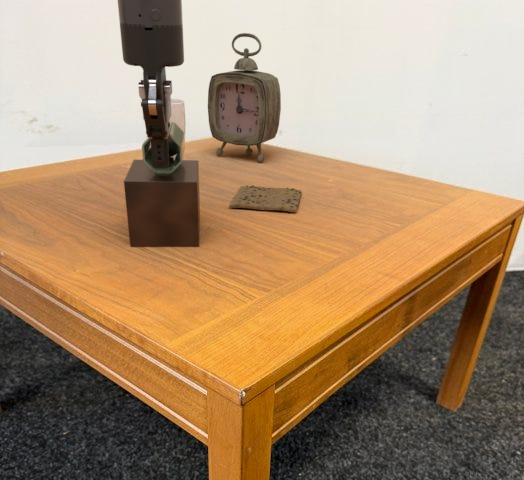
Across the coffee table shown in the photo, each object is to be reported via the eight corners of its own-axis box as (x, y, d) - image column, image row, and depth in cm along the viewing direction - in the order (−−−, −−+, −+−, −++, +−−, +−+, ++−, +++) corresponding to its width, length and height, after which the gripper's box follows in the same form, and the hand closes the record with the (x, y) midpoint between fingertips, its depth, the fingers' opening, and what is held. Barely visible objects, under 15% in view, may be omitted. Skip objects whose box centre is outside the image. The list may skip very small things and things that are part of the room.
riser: (130, 246, 80) (123, 181, 75) (138, 218, 90) (133, 159, 85) (199, 246, 81) (197, 181, 76) (200, 219, 91) (198, 160, 86)
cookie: (239, 188, 106) (239, 183, 105) (302, 193, 105) (302, 188, 104) (227, 207, 96) (227, 202, 95) (296, 213, 95) (297, 207, 94)
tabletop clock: (208, 156, 127) (206, 31, 114) (227, 149, 134) (227, 30, 120) (264, 165, 122) (269, 35, 108) (281, 157, 129) (287, 34, 115)
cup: (182, 173, 79) (181, 133, 76) (144, 173, 78) (140, 132, 76) (185, 158, 86) (183, 121, 84) (150, 157, 86) (147, 120, 83)
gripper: (126, 18, 72) (138, 155, 81) (111, 21, 60) (127, 180, 70) (184, 20, 72) (190, 156, 81) (179, 23, 61) (186, 180, 70)
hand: (161, 167), depth 76 cm, fingers closed
